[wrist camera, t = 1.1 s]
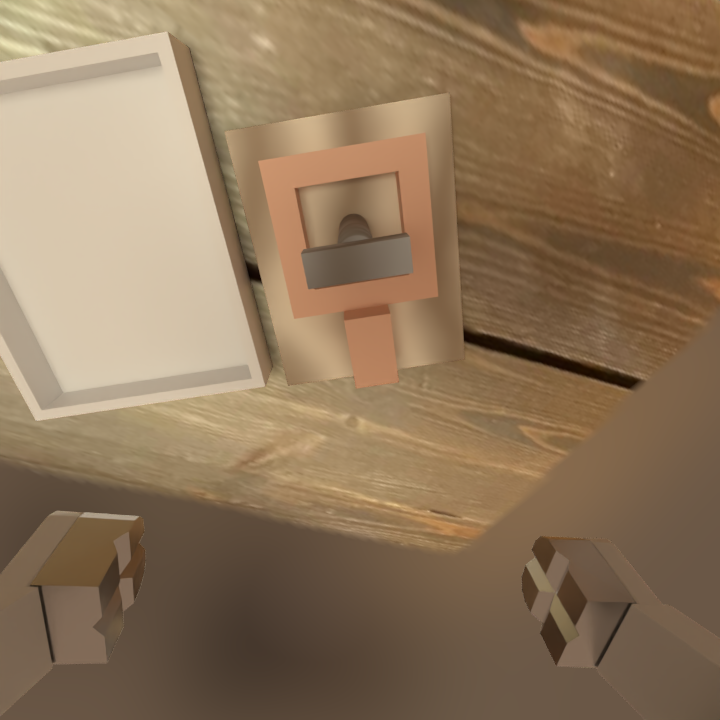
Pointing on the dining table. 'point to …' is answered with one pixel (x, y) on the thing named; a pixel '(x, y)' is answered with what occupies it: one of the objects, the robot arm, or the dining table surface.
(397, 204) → the board
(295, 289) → the square frame with stem
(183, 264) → the tray
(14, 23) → the dining table surface
